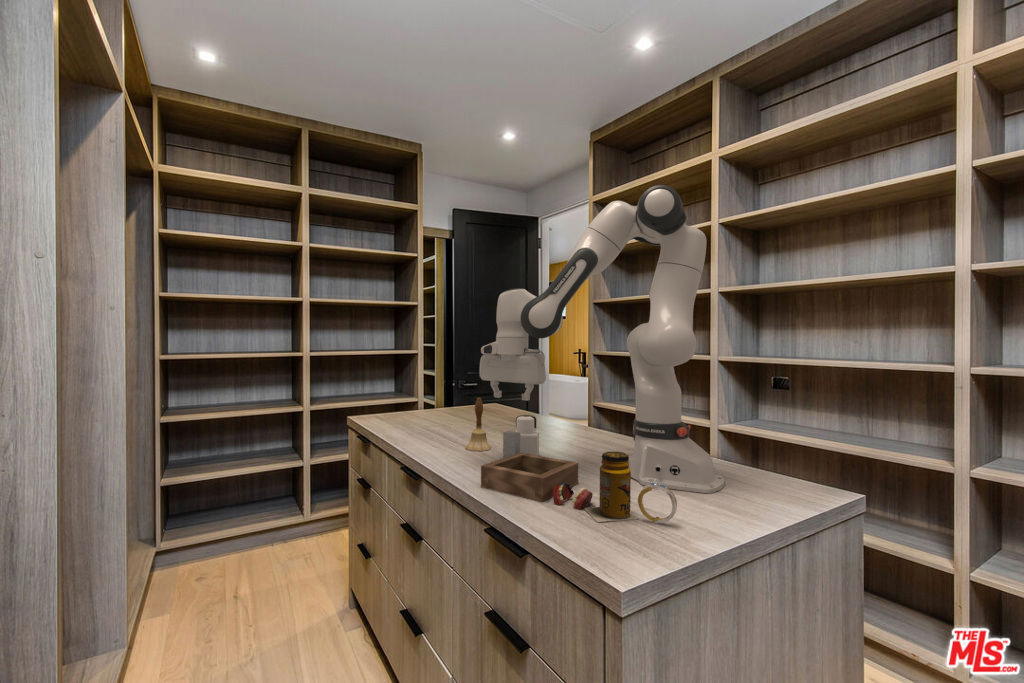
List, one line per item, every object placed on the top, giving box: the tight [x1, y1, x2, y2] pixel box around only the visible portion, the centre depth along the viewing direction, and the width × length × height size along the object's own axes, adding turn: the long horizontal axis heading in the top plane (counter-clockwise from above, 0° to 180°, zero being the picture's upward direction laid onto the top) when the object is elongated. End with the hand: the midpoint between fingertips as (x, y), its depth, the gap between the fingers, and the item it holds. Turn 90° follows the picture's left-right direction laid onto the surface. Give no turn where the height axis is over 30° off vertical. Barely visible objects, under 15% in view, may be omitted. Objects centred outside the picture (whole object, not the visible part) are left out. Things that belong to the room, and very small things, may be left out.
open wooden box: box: [480, 453, 579, 503], centre depth 113 cm, size 17×16×5 cm
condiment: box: [583, 450, 639, 523], centre depth 95 cm, size 7×8×12 cm
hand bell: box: [465, 397, 492, 452], centre depth 151 cm, size 8×8×16 cm
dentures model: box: [552, 483, 594, 511], centre depth 101 cm, size 6×4×8 cm
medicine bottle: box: [514, 414, 540, 456], centre depth 140 cm, size 7×7×12 cm
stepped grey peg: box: [500, 430, 520, 459], centre depth 131 cm, size 4×6×9 cm, turn 144°
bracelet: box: [637, 479, 678, 525], centre depth 90 cm, size 7×3×8 cm, turn 55°
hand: (511, 398), depth 131 cm, fingers open, 8 cm apart
